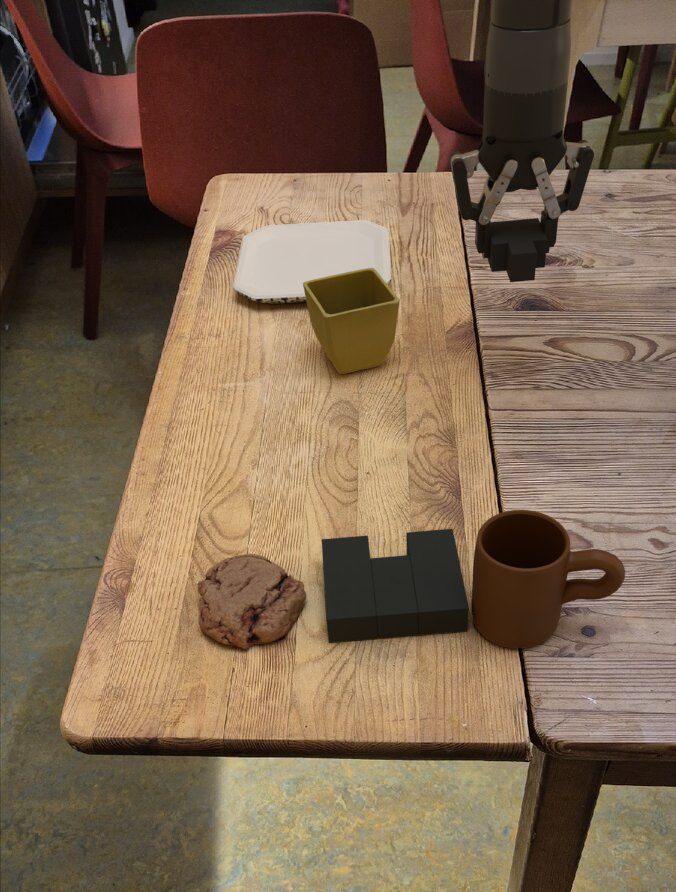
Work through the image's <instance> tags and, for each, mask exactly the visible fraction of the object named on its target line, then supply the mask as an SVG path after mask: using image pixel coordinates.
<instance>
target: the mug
mask: <svg viewBox="0 0 676 892" xmlns="http://www.w3.org/2000/svg"><path fill="white" fill-rule="evenodd" d="M592 570H599V571H603V572H604V574H603V576H601V577H599V578H595V579H592V578H590V579H589V578H571V579H568V574H569V573H574V572H585V571H592ZM625 579H626V568H625V566H624V563H623V561H621V559H620V558H618V556H617V555H616V554H614V553H611V552H610V551H607V550H603V549H599V548H589V549H582V550H576V551H575V550H574V551H572V550H571V538H570V536H569V533H568V531H567V530H566V528H565V527H564V526H563V525H562V524H561V522H559V521H558V520H557V519H555V518H554V517H552V516H550V515H548V514H545V513H542V512H539V511H535V510H530V509H511V510H505V511H502V512H499V513H497V514H495V515H492V516H491V517H490V518H488V519H487V520H486V521H485V522H484V523H483V524H482V525H481V526H480V528H479V530H478V531H477V535H476V540H475V547H474V552H473V567H472V582H471V583H472V584H471V586H472V587H471V617H472V622H473V624H474V626H475V628H476V629H477V631H478V632H479V634H481V635H482V636H483V637H484V638H485V639H487V641H489V642H491V643H492V644H495V645H498V646H500V647H504V648H508V649H509V648H510V649H528V648H532V647H536V646H538V645H540V644H542V643H544V642H545V641H547V640H548V639H549V638H550V637H552V635H553V634H554V633H555V632H556V630H557V628H558V626H559V623H560V619H561V615H562V611H563V605H565V604H567V603H570V602H575V601H579V600H584V601H595V600H596V601H597V600H602V599H606V598H608V597H610V596H612V595H613V594H615V593H616V592H618V590H619V589H620V588H621V587H622V585H623V583H624V581H625Z"/></svg>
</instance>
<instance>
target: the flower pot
mask: <svg viewBox="0 0 676 892" xmlns="http://www.w3.org/2000/svg"><path fill="white" fill-rule="evenodd" d="M303 287H304V292H305V297H306V301H307V302H306V306H307V310H308V315H309V321H310V323H311V327H312V330H313V332H314V335H315V337H316V339H317V340H318V343H319V345H320V346H321V348H322V349H323V351H324V353H325V354H326V356H327V357H328V359H329V361H330V362H331V363H332V365H333V367H334V369H335V370H336V372H337V373H338V374H340V375H345V374H350V373H354V372H359V371H363V370H367V369H372V368H376V367H379V366H380V365H382V364H383V362H384V361H385V359H386V358H387V357H388V355H389V353H390V351H391V350H392V347H393V346H394V345H393V344H394V342H395V338H396V333H397V332H396V331H397V325H398V317H399V309H400V301H401V299H400V298H399V297H398V295H397V294H396V293H395V291H394V290H393V289H391V287H390V286H389V284H388V285H387V283H386V282H385V281H384V280H383V278H382V277H381V276H380V274H379V273H378V272H377V271H376V270H375V269H374V268H366V269H361V270H356V271H351V272H346V273H341V274H337V275H332V276H328V277H323V278H318V279H314V280H310V281H306V282H304V283H303Z"/></svg>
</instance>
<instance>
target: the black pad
mask: <svg viewBox="0 0 676 892" xmlns="http://www.w3.org/2000/svg"><path fill="white" fill-rule="evenodd" d="M540 221H541V220H540V219H539V218H538V217H535V218H534V217H533V218H523V219H522V218H521V219H511V220H501V221H491V224H492V234H491V246H490V258H486V259H487V262H488V265H489V268H490V271H491V273H495V272H506V274H507V277H508V280H509V283H519V282H520V283H521V282H531V281H535V280H536V269H541V268H545V267H546V261H547V260H546V259H547V253H546V250H547V237H546V235H545V233H544V231H543V229H542V227H541V224H540Z"/></svg>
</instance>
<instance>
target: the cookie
mask: <svg viewBox="0 0 676 892" xmlns="http://www.w3.org/2000/svg"><path fill="white" fill-rule="evenodd" d="M204 577H205V580H199V581H198V583H197V592H198V594H199V596H201V599H200V600H199V606H198V611H199V612H200V615H198V625H199V629H200V631H201V632H203V633H205V634H206V635H207V636H208V637H211V638H212V639H213V640H215V641H217V643H221V644H222V645H226V646H231V647H232V648H233V647H234V646H235V647H236V648H241V649H242V650H246V649H249V648H250V647H251V646H253V645H260V644H261V645H262V644H264V645H265V644H266V643H267V644H269V643H270V642H275V641H277V640H279V639H282V638H283V637H284V636H285V635H286V634H289V631H290V629H291V628H293V626H294V623H295V622H297V620H298V618H299V615H300V614H301V611H303V610H304V605H305V603H306V599H307V592H306V591H305V584H304V582H303V581H302V580H298V579H295V577H294V576H293V575H292V574H288V573H287V571H286V570H285V569H284V568H283V567H282V566H280V565H279V564H277V563H275V562H273V561H271V560H270V559H268V558H267V557H266V556H264V555H260V554H256V553H254V554H253V553H246V554H238V555H237V554H236V555H234V556H232V557H226V558H224V559H222V560H221V561H219V562H217V563H216V564H214V565H213V566H212V567H210V568H208V570H207V571H206V572H205V574H204Z"/></svg>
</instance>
